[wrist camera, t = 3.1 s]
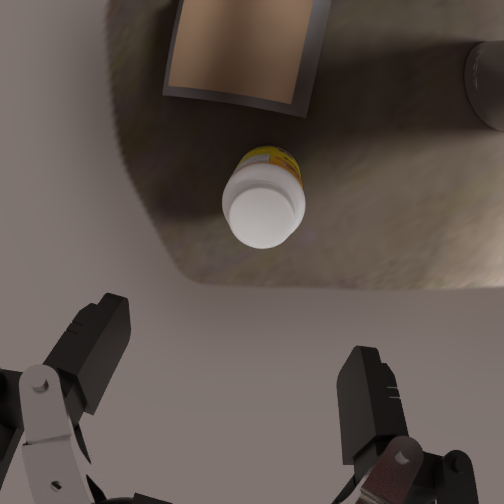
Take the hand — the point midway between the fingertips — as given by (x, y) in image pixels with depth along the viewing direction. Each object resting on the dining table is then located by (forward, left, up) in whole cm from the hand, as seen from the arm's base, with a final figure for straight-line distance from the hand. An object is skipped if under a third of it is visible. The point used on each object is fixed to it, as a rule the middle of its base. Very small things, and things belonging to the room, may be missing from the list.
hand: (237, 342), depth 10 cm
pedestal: (+4, -11, -20) cm, 23 cm away
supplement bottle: (0, 0, -20) cm, 20 cm away
